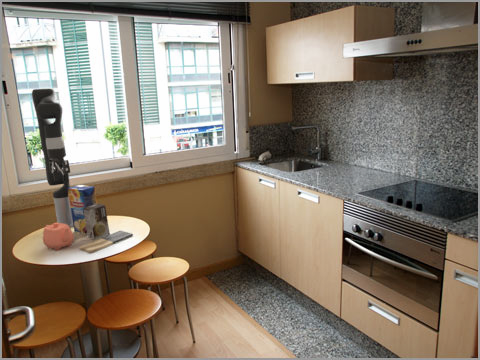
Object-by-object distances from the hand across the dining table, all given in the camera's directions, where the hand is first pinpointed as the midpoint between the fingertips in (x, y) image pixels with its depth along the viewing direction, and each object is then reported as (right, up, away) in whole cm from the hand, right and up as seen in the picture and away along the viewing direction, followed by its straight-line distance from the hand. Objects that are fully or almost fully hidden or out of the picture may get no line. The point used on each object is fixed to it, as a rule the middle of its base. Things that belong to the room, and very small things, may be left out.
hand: (61, 181), depth 183 cm
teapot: (-4, -32, +7) cm, 33 cm away
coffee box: (+11, -29, +18) cm, 36 cm away
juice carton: (+2, -27, +27) cm, 38 cm away
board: (+18, -30, +10) cm, 36 cm away
